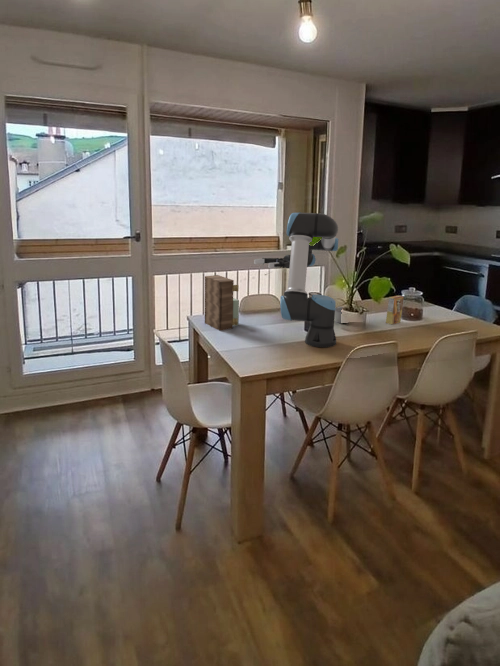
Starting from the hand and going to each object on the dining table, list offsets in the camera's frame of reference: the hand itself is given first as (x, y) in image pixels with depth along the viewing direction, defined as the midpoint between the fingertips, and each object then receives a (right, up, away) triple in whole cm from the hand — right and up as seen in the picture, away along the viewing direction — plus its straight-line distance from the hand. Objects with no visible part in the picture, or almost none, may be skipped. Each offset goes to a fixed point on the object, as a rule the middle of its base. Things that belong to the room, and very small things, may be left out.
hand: (261, 263), depth 268 cm
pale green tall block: (-16, -33, 0) cm, 37 cm away
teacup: (+46, -32, +11) cm, 57 cm away
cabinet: (-22, -34, -5) cm, 41 cm away
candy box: (+76, -32, +12) cm, 83 cm away
